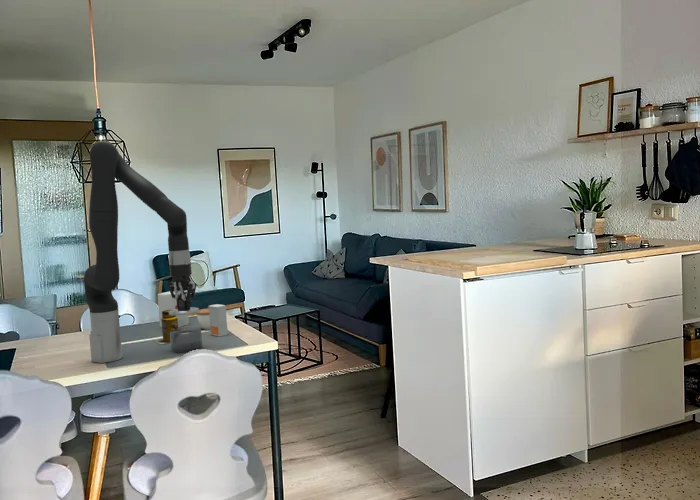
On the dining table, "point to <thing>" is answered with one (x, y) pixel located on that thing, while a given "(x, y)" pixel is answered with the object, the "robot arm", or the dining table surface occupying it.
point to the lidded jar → (204, 318)
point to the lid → (183, 309)
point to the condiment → (167, 326)
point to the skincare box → (218, 320)
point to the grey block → (185, 339)
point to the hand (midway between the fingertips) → (183, 309)
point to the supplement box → (170, 308)
